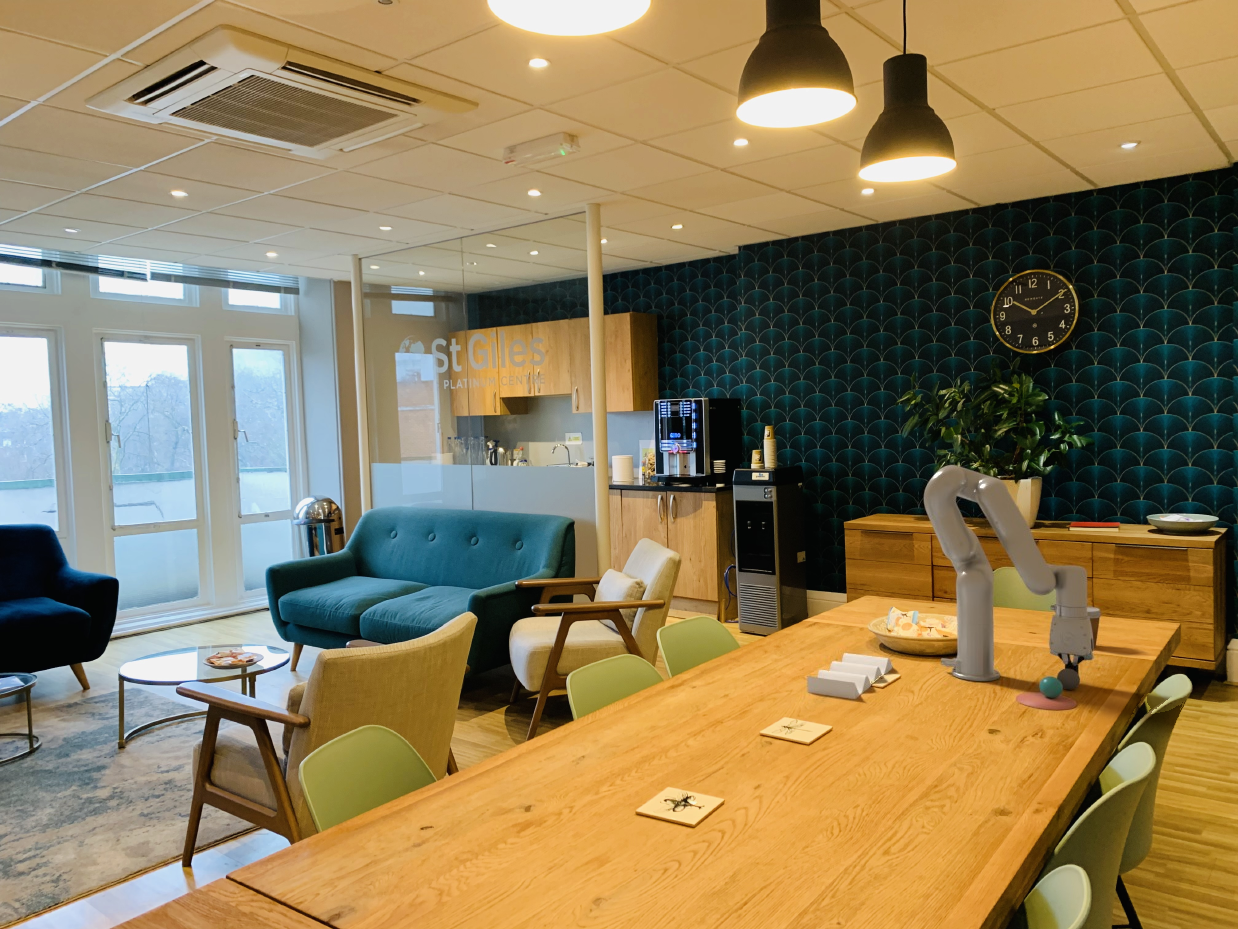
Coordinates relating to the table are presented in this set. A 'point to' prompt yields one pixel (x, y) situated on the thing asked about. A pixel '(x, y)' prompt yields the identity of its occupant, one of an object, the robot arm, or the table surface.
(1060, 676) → the gray ball
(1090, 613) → the disposable coffee cup
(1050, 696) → the object ball
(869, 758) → the table surface
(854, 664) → the white taco holder
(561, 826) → the table surface
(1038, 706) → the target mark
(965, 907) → the table surface
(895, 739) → the table surface
